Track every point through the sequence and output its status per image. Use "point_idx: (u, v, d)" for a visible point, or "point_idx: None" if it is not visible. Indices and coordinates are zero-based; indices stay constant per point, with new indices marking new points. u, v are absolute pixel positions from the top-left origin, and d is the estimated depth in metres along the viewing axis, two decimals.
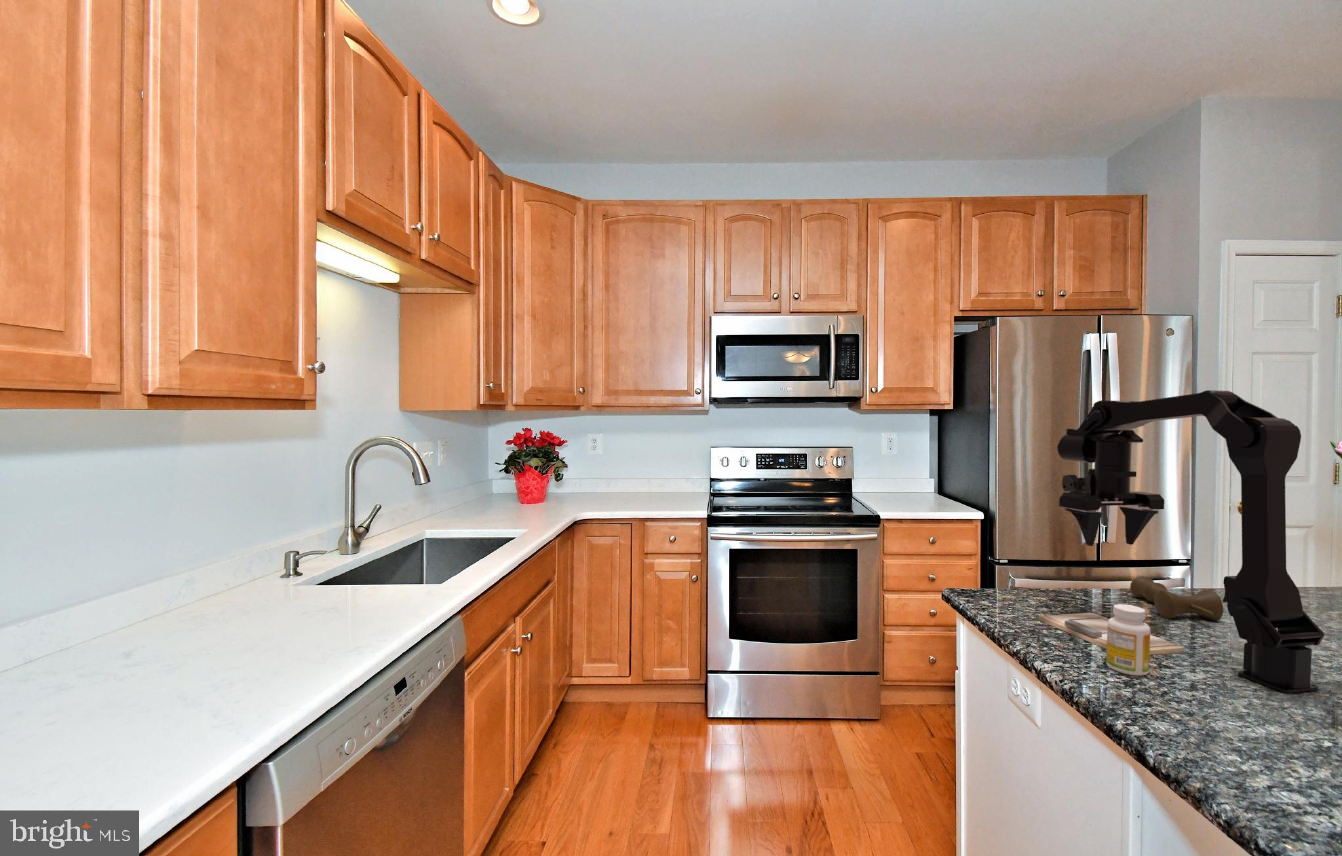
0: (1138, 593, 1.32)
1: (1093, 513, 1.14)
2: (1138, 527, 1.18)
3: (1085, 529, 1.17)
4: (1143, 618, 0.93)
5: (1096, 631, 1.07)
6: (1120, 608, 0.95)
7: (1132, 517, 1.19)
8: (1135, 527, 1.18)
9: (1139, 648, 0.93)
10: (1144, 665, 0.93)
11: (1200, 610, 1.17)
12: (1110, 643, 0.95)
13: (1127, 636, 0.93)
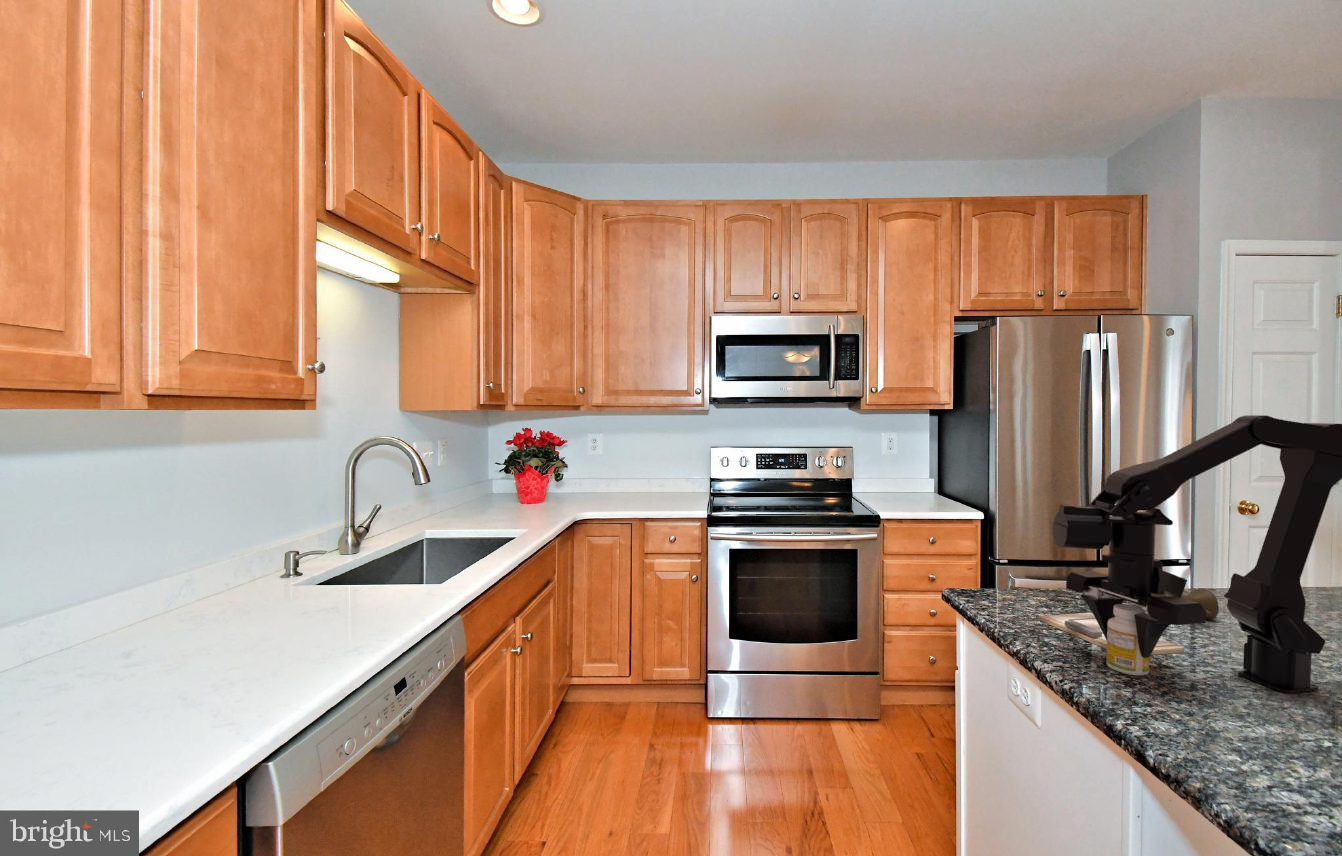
0: None
1: (1084, 597, 1.00)
2: None
3: None
4: None
5: (1096, 631, 1.07)
6: (1120, 608, 0.95)
7: None
8: None
9: None
10: (1144, 665, 0.93)
11: None
12: (1110, 643, 0.95)
13: (1127, 636, 0.93)
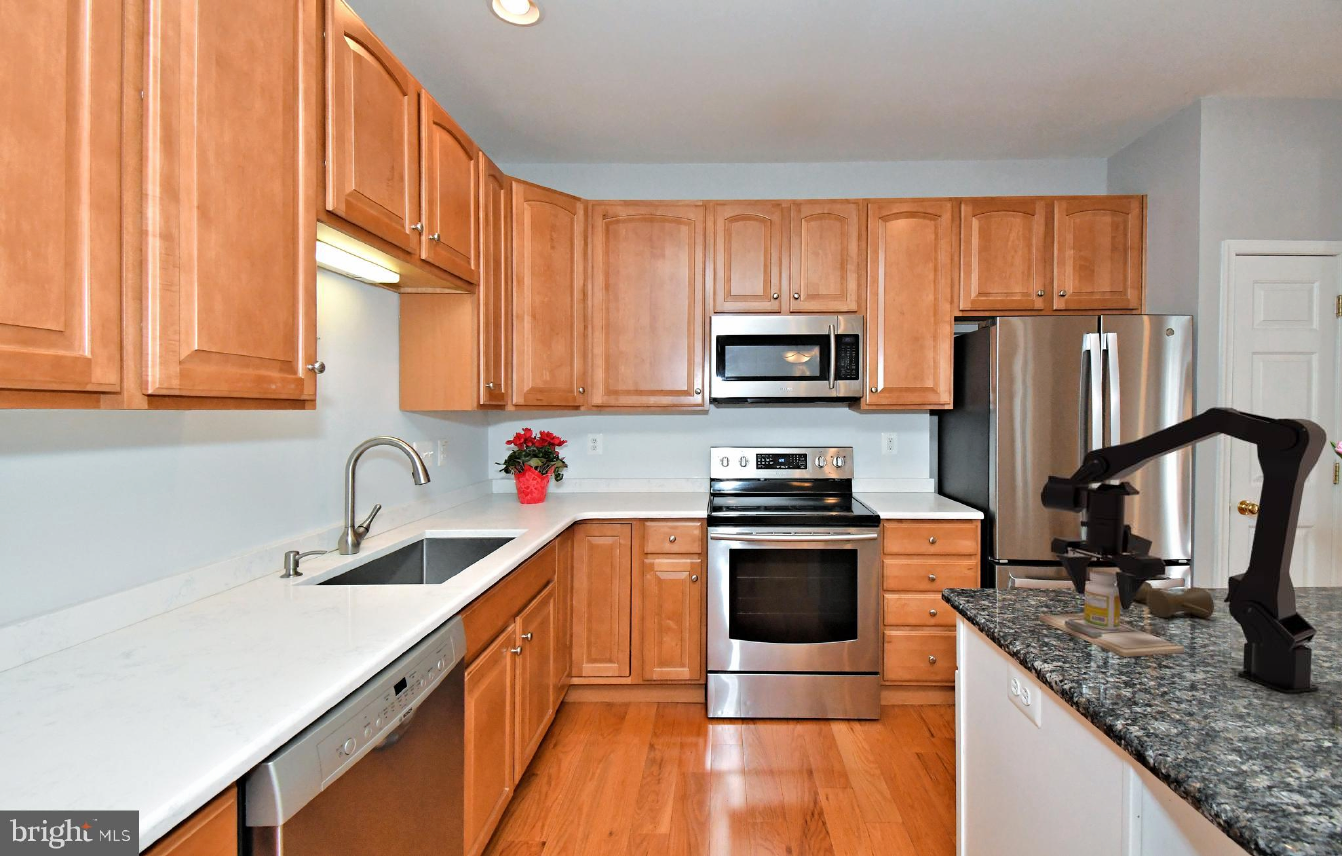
0: None
1: (1059, 556, 1.18)
2: None
3: None
4: (1114, 581, 1.10)
5: (1096, 631, 1.07)
6: (1095, 573, 1.12)
7: None
8: None
9: (1111, 606, 1.09)
10: (1115, 621, 1.10)
11: (1194, 608, 1.17)
12: (1087, 604, 1.12)
13: (1101, 597, 1.10)
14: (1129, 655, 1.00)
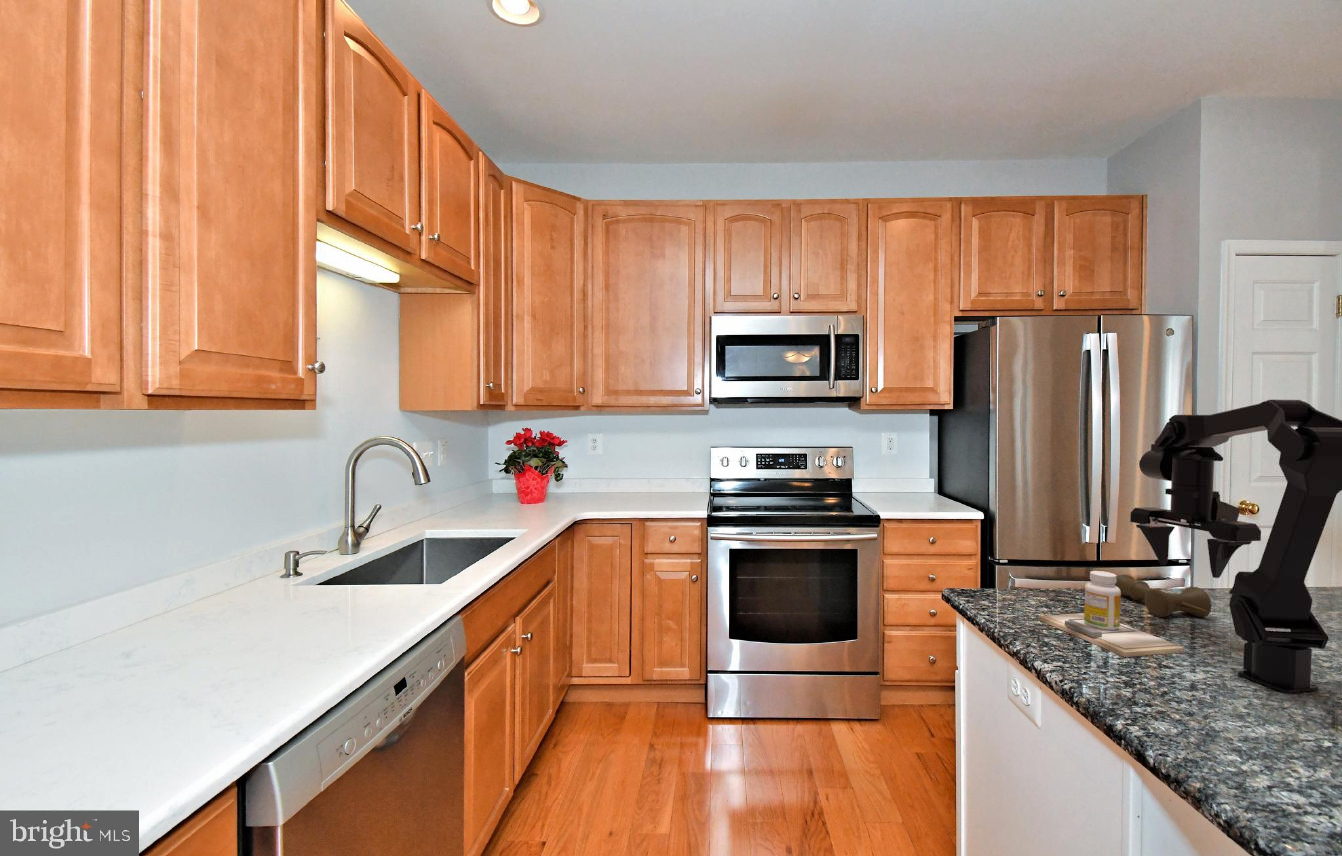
0: (1121, 592, 1.33)
1: (1139, 526, 1.16)
2: None
3: None
4: (1114, 582, 1.10)
5: (1096, 631, 1.07)
6: (1095, 573, 1.12)
7: None
8: None
9: (1111, 606, 1.09)
10: (1115, 621, 1.10)
11: (1192, 608, 1.18)
12: (1087, 604, 1.12)
13: (1101, 597, 1.10)
14: (1129, 655, 1.00)
